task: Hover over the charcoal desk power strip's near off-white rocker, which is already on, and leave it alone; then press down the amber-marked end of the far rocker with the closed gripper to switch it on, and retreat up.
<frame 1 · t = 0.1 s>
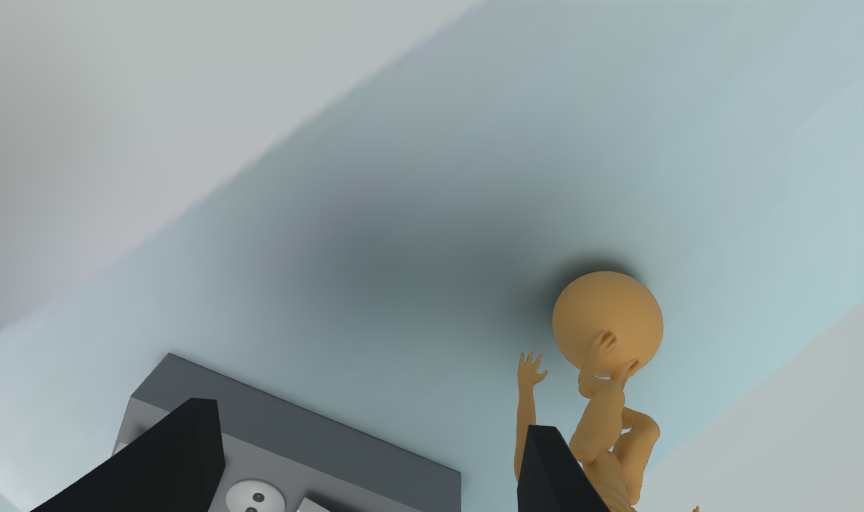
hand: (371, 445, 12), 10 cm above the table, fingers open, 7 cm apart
power strip: (299, 457, 26), on the table
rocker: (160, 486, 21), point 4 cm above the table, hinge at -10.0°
figurine: (572, 310, 22), on the table
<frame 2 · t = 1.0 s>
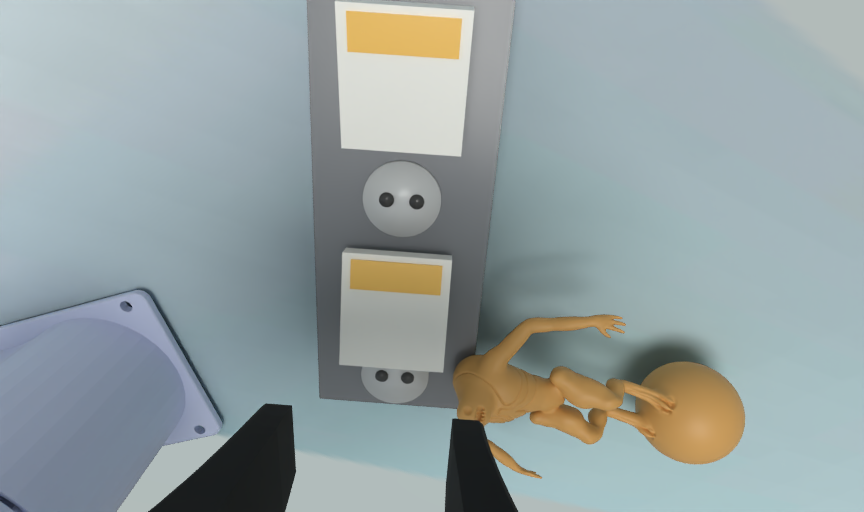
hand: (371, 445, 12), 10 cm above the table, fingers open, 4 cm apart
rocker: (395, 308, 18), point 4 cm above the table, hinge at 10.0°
power strip: (408, 202, 20), on the table
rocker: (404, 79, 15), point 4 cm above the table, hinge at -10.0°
figurine: (701, 386, 23), point 1 cm above the table, touching power strip
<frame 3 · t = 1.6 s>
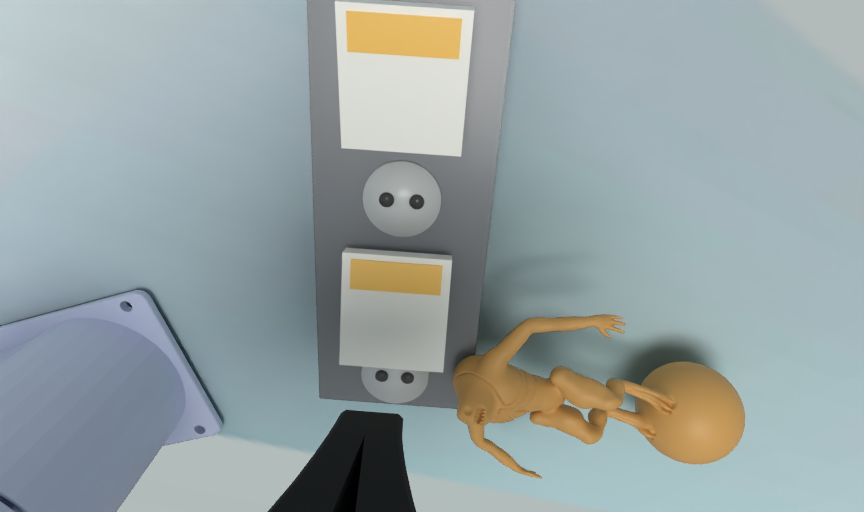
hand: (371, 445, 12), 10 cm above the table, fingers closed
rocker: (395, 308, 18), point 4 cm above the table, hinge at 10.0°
power strip: (408, 202, 20), on the table
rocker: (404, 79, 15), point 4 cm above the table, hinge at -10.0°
figurine: (701, 386, 23), point 1 cm above the table, touching power strip
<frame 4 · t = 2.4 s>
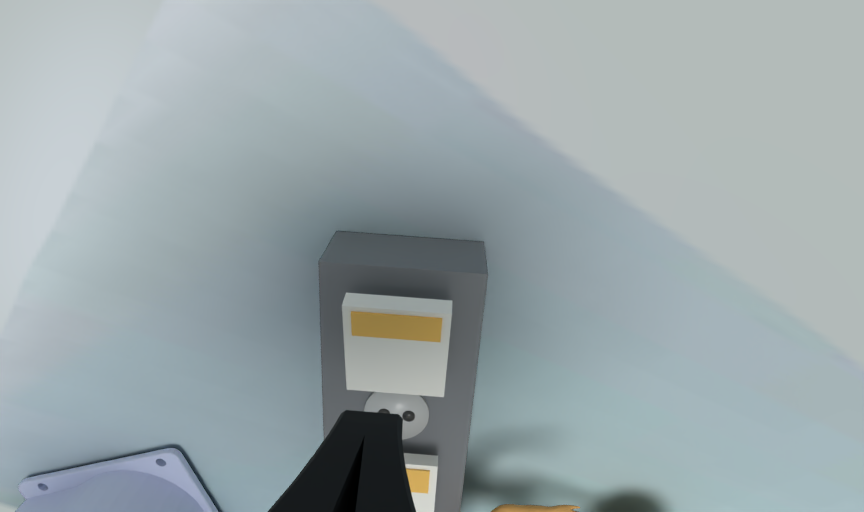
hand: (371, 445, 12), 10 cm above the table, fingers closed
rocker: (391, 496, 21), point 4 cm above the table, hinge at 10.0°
power strip: (402, 386, 24), on the table
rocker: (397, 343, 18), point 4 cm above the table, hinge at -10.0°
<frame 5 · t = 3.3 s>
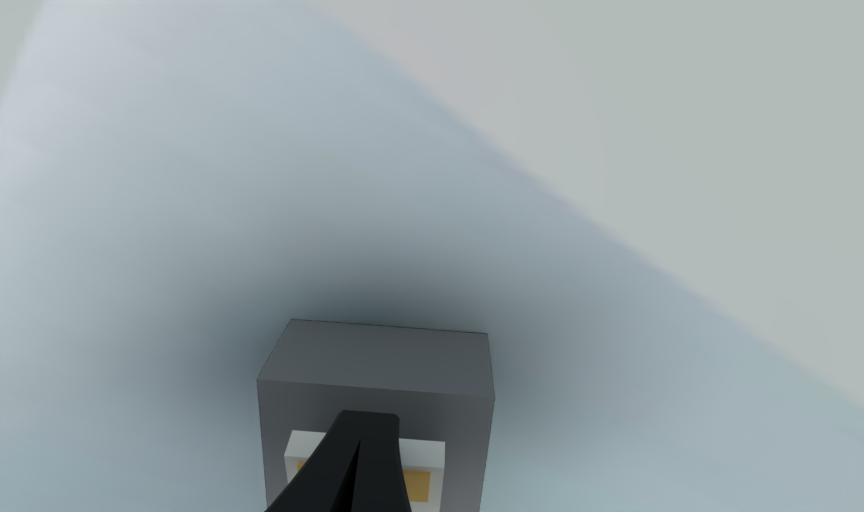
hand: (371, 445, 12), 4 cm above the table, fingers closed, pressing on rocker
power strip: (382, 506, 19), on the table
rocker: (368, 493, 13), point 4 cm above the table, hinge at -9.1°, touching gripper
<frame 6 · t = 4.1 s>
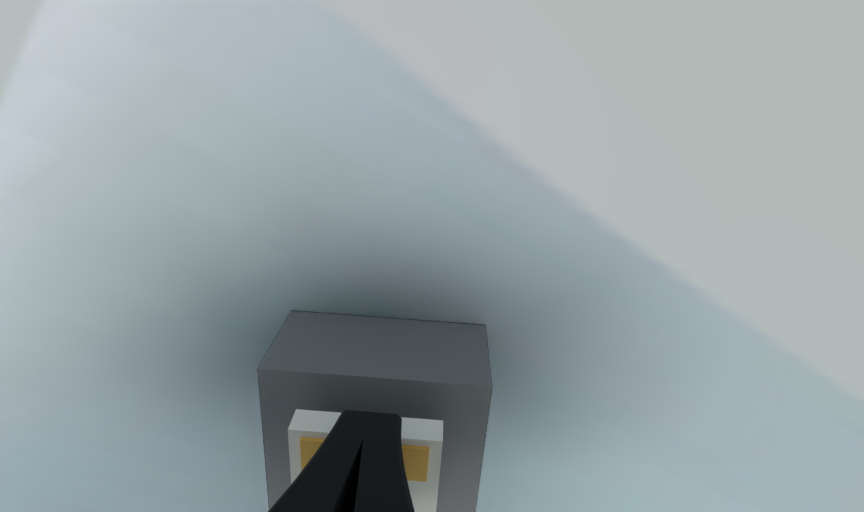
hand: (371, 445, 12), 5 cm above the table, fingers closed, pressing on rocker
power strip: (381, 496, 19), on the table
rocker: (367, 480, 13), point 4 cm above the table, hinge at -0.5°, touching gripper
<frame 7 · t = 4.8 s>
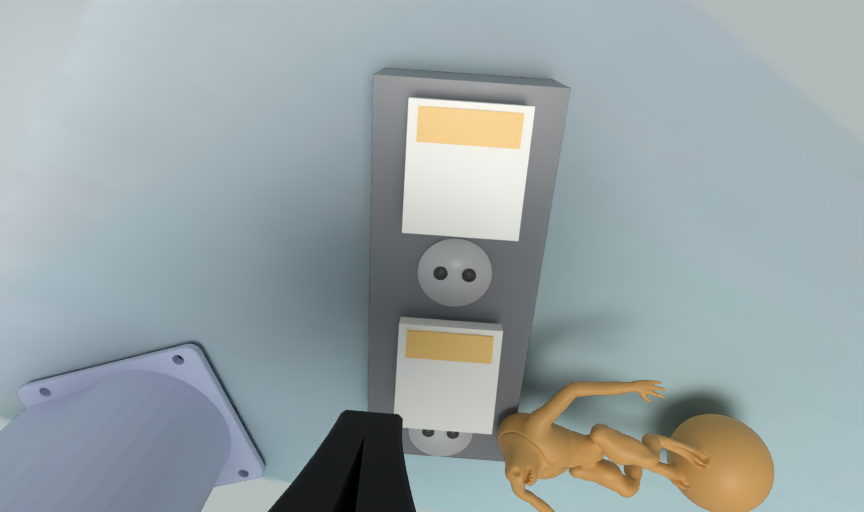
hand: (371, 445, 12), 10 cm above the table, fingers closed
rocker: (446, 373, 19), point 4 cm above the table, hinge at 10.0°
power strip: (452, 264, 21), on the table
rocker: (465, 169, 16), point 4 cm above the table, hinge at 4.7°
figurine: (728, 434, 24), point 1 cm above the table, touching power strip
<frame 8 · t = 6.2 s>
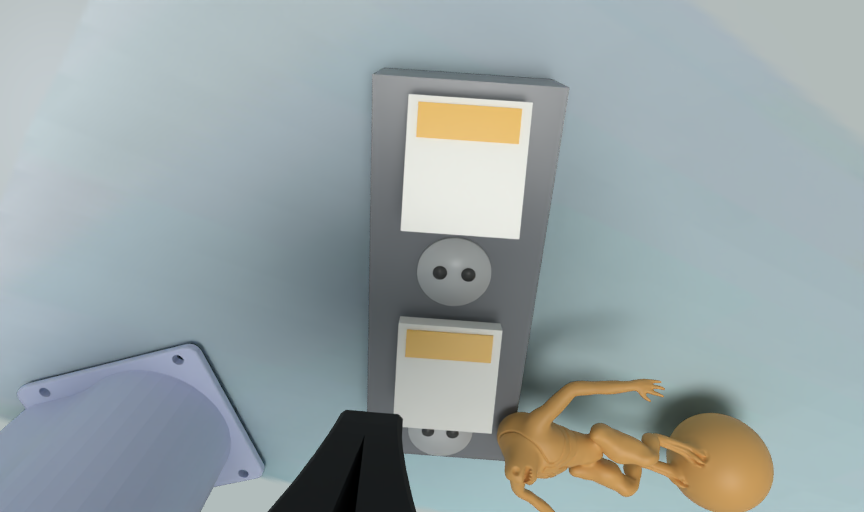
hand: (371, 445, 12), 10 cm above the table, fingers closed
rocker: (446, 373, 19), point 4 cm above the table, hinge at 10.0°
power strip: (451, 264, 22), on the table
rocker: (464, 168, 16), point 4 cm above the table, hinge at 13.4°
figurine: (728, 434, 24), point 1 cm above the table, touching power strip
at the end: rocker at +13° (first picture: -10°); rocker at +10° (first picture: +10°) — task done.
